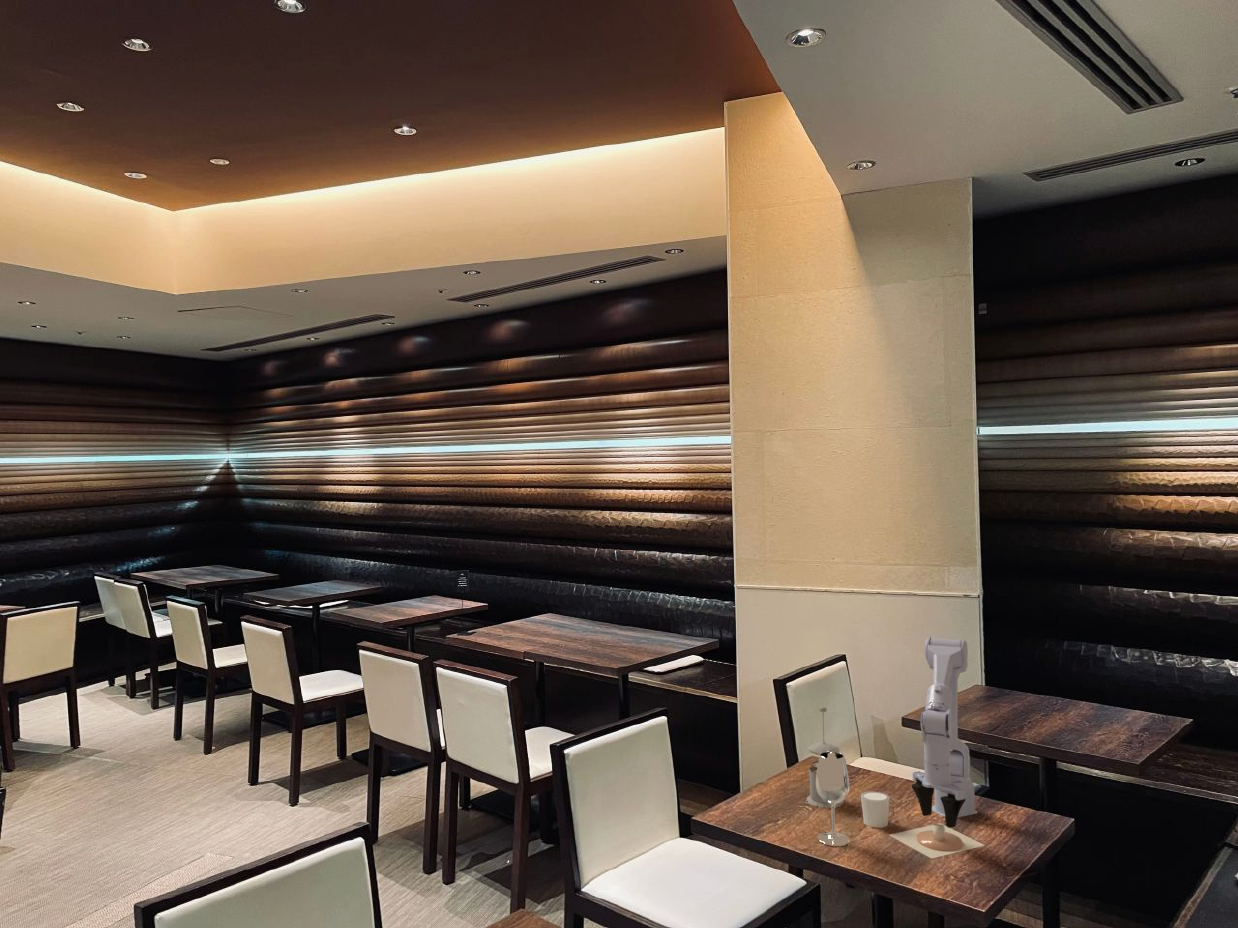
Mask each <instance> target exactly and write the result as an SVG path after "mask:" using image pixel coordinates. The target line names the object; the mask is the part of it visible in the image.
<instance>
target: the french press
mask: <svg viewBox="0 0 1238 928" xmlns="http://www.w3.org/2000/svg"><path fill="white" fill-rule="evenodd" d="M818 711H819V712H822V731H823V732H822V737H823V738H822V740H823V741H822V742H815V743H813V744H811V745H809V747H807V748H808V751H809V752H810V753H811V754H814V755H817V756H820V754H821V753H823V752H838V753H840V748H839V747H837V746H836V745H834V744H832V743H829V742H826V741H825V722H824V720H825V719H824V717H825V716H824V713H825V712H827V707H826V706H821V707H819V709H818ZM844 759H845V763H846V764H847V760H846V758H845V757H844ZM818 762H819V759H816V760H813V761H811V762H810V767H809V795H808V796H807V797H806V799H807V800H806V802H807V801H808V802H807V803H808V804H809V803H810V804H809V805H811V804H812V805H811V806H814V805H815V806H814V807H817V806H818V808H823V807H825V808H823V809H831V805H830V804H829V803H827V802H826V801H824V800H823V799H822V798H821V797H820V795H819V794H818V792H817V789H816V774H817V768H818ZM815 771H816V772H815ZM843 802H844V800H843V801H842V802H840V803H838V804H836V806H835V808H838V806H839V807H841V806H840V805H841V804H843ZM843 805H844V804H843Z"/></svg>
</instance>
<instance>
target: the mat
mask: <svg viewBox="0 0 1238 928" xmlns="http://www.w3.org/2000/svg"><path fill="white" fill-rule="evenodd" d="M938 824H940V825H943V826H944V827H945V832H948V833H951V834H954V835H956V836H958V837H959V838H960V839H961V840H962V847H961V848H960V849H958V850H953V851H939V850H934V849H930V848H927V847H925V846H923V845H921V844H920V843H918V841H917V834H918V833H920V832H923V831H929V830H933V825H934V824H931V825H930V824H929V825H927V826H923V827H918V828H914V829H909V830H904V831H900V832H895V833H891V834H888V836H890V837H891V838H892V839H894V840H897V841H899V842H900V843H902V844H904V845H906V846H907V847H910V848H911V849H913V850H915V851H917V852H919V853H920V854H921V855H924V856H925V857H927V858H929V859H931V860H932V859H936V858H940V857H945V856H949V855H953V854H957V853H961V852H964V851H968V850H969V851H970V850H974V849H977V848H982V847H986V845H985V844H984V843H981V842H979V841H977V840H975V839H973V838H971V837H969V836H967V835H964V834H963V833H961V832H959V831H956V830H955V829H953V828H952V827H951V828H948V827H947V826H946V824H943V823H938Z"/></svg>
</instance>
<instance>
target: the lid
mask: <svg viewBox="0 0 1238 928" xmlns="http://www.w3.org/2000/svg"><path fill="white" fill-rule="evenodd" d="M932 825H933V830H929V831H923V832H920V833H918V834H917V841H918V843H920V844H921V845H923V846H925V847H927V848H930V849H934V850H939V851H953V850H958V849H960V848H961V847H962V840H961V839H960V838H959V837H958V836H956V835H954V834H951V833H948V832H945V827H944V826H943V825H944V824H943V825H940V824H939V823H936V824H932Z"/></svg>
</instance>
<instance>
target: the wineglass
mask: <svg viewBox="0 0 1238 928" xmlns="http://www.w3.org/2000/svg"><path fill="white" fill-rule="evenodd" d="M844 758H845V755H844V754H842V753H840V752H839V753H838V752H823V753H821V754H820V755H819V758H818V760H819V762H818V768H817V770H816V772H817V774H816V789H817V792H818V794H819V795H820V797H821V798H822V799H823V800H824V801H826V802H827V803H829V804H830V805H831V808H830V809H831V831H826V832H821V833H819V834H818V835H817V840H818V841H819V842H820V843H822V844H823V845H826V846H829V847H844V846H847V845H848V843H850V841H851V839H850V837H849V836H848V835H846V834H844V833H841V832H836V831H837V830H836V817H835V816H836V815H835V814H836V811H835V810H836V807H835V806H836V804H838V803H840V802H842V801H843V802H844V801H845V800H846V798H847V797H848V796H849V792H850V779H849V777H850V776H849V772H848V767H847V762H846V763H845V760H846V758H845V759H844Z"/></svg>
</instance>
